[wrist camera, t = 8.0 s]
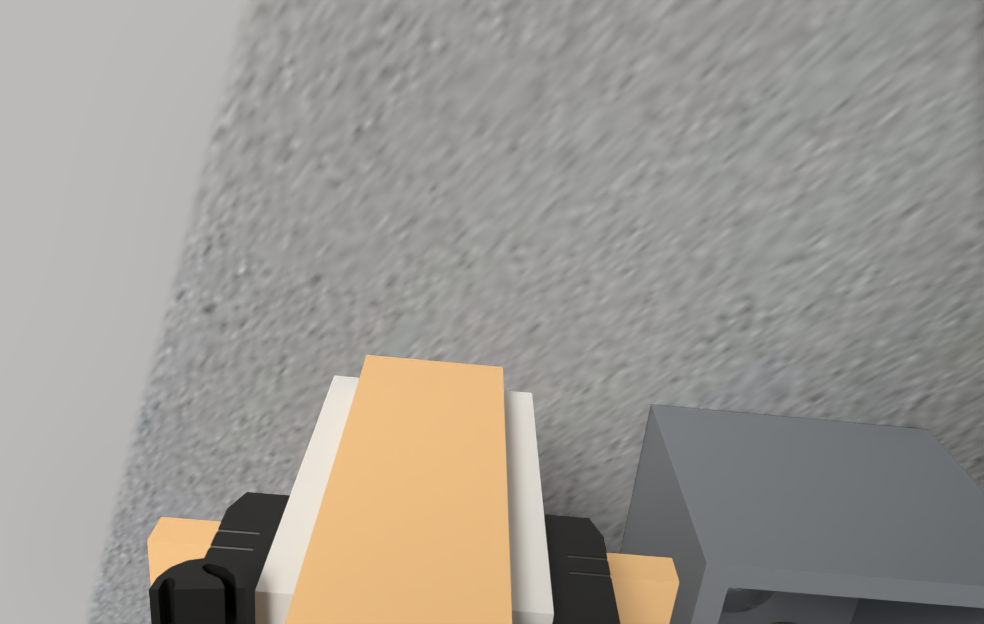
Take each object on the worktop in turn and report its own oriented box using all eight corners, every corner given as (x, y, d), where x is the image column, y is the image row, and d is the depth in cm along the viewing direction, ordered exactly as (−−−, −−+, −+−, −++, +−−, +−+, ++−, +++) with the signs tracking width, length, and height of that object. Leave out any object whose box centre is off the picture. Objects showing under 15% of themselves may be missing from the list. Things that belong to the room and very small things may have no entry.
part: (688, 495, 32) (706, 545, 30) (762, 502, 33) (787, 552, 30) (674, 555, 34) (690, 609, 31) (745, 561, 34) (768, 615, 31)
